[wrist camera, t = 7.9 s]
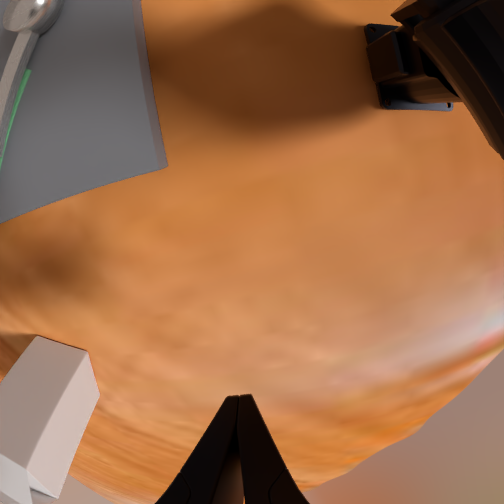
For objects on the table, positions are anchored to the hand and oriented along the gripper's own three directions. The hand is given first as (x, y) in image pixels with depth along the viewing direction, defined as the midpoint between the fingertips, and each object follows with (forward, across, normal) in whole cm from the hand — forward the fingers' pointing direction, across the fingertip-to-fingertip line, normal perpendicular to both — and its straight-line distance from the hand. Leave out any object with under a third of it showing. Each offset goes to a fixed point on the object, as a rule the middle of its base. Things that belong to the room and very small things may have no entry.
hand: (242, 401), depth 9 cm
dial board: (+13, +14, -18) cm, 26 cm away
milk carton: (+13, +22, +10) cm, 28 cm away
